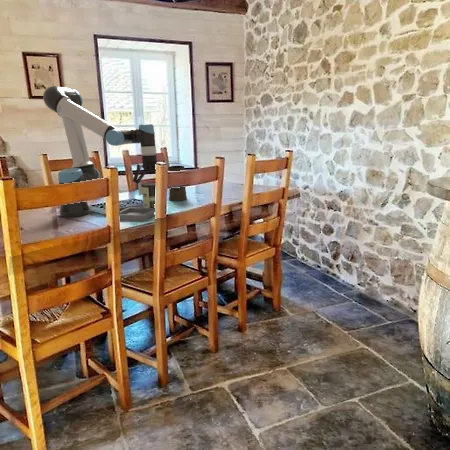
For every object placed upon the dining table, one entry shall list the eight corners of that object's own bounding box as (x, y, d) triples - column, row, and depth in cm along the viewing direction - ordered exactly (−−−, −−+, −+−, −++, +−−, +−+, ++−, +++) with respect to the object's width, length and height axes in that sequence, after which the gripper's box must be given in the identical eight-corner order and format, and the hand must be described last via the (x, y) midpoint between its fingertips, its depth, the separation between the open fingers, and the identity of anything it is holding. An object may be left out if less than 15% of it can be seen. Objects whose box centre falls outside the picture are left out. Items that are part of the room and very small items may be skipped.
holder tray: (114, 220, 190) (113, 214, 189) (129, 212, 205) (128, 207, 204) (144, 221, 186) (144, 215, 186) (157, 213, 201) (157, 208, 201)
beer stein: (188, 200, 232) (186, 166, 227) (170, 201, 230) (168, 167, 224) (184, 196, 247) (182, 164, 241) (167, 197, 244) (165, 165, 239)
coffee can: (165, 207, 214) (163, 182, 211) (158, 212, 204) (156, 185, 201) (147, 207, 216) (145, 182, 213) (140, 211, 207) (138, 185, 203)
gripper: (174, 153, 204) (177, 193, 209) (130, 154, 209) (134, 193, 215) (169, 154, 197) (172, 196, 202) (123, 155, 202) (127, 196, 207)
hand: (152, 194), depth 208 cm, fingers open, 13 cm apart
